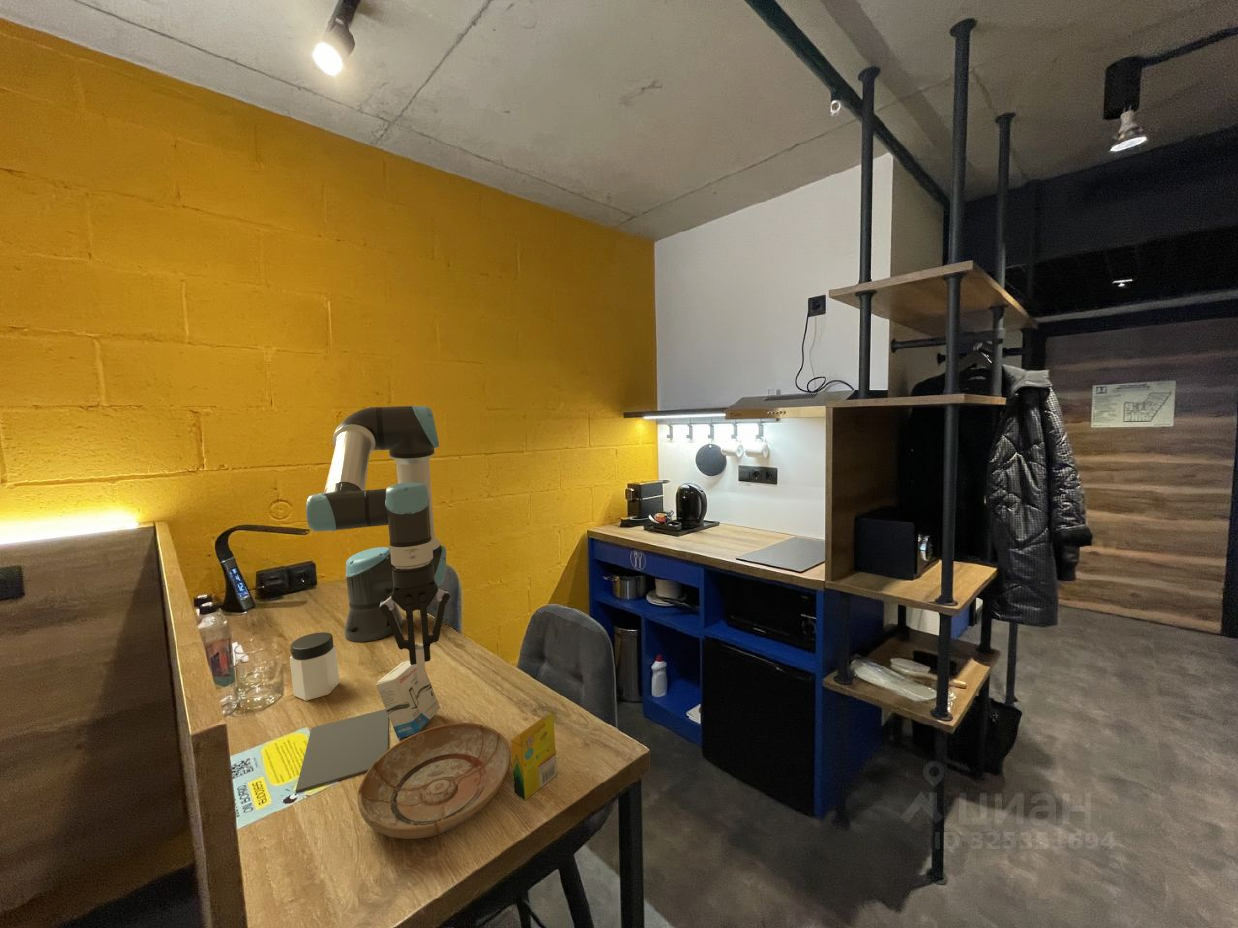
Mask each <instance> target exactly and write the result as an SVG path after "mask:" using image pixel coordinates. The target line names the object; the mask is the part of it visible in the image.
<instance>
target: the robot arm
mask: <svg viewBox="0 0 1238 928" xmlns="http://www.w3.org/2000/svg"><path fill="white" fill-rule="evenodd" d="M436 427H437V426H436V422H435V418H434V413H433V410H432V409H431V408H430V407H428V406H426V405H425V406H424V405H400V406H399V405H397V406H396V405H395V406H393V405H392V406H370V407H364V408H362V409H359V410H357V411H355V412H353V413H351V414H349V415H348V416H347V417H345V418H344V419H343V420H342V421H341V422H340V423H339V424H338V426H337V427H335V430H334V433H333V436H332V440H331V441H332V446H333V448H334V451H333V455H332V459H331V463H330V466H329V471H328V475H327V478H326V483H325V487H324V491H323V492H320V493H316V494H312V495H309V496H308V498H307V499H306V503H305V504H306V505H305V515H306V522H307V526H308V527H309V529H310V530H311V531H313V532H329V531H330V532H335V531H343V530H351V529H360V528H368V527H369V528H372V527H380V526H387V527H388V535H389V547H386V546H379V547H378V546H377V547H372V548H368V549H364V550H362V551H359V552H357V553H354V554H353V555H350V557H349V558H347V560H346V562H345V578H346V585H347V596H348V597H347V598H348V606H349V608H348V613H347V617H346V621H345V625H344V637H345V639H347V641H351V642H371V641H375V640H380V639H384V638H386V637H389V636H391V635H393V637H394V640H395V642H396V644H397V645H396V646H397V647H398V649H399V650H407V651H408V655H409V660H410V664H411V665H414V664H416V665H417V677H418V682H419V681H423V680H426V673H427V672H426V673H425V670H426V662H430V661H431V659H432V658H431V645H433V644H434V643H437V642H439V640H440V636H441V630H442V625H443V619H444V614H445V609H446V605H447V604H448V602H449V601H450V598H451V595H450V591H449V590H447V589H445V590H443V589H441V588H439V586H441V585H442V584H443V583H444V581H445V579H446V572H447V571H446V569H447V568H446V567H447V548H446V547H447V546H445V545H442V544H441V540H440V539H439V538H437V537H436V536H435V524H434V521H435V520H434V509H433V499H432V498H433V495H432V479H431V478H432V477H431V467H430V465H431V464H430V463H431V462H430V461H431V460H430V459H432V457H433V456H434V455H435V449H438V448H439V447H440V441H439V438H438V437H439V436H438V432H437V428H436ZM374 451H388V452H389V453H388V455H389V458H391V459H392V460H394V461H395V466H396V474H397V483H395V484H392V485H390V486H388V487H386V488H379V489H366V486H367V479H368V469H369V464H370V462H369V461H370V456H371V455H370V454H372V453H373V452H374ZM435 597H436V600H437V603H436V609H435V615H434V619H433V625H432V631H431V634H430V632H429V631H430V630H429V619H428V618H429V617H428V616H429V615H428V607H429V606H430V605H431V603H432V601H433V600H434V598H435ZM399 607H400V609H402V611H405V617H406V618H405V619H406V628H407V629H406V631H407V639H405V636H404V635H403V632H402V629H401V628H403V625H404V623H403V622H404V621H403V616H402V613H401V611H400V609H399ZM414 611H419V612H420V613H419V615H420V627H421V638H422V639H421V640H422V642H420V643H416V638H415V637H416V636H415V635H416V634H415V624H414Z"/></svg>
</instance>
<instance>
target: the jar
mask: <svg viewBox="0 0 1238 928" xmlns="http://www.w3.org/2000/svg"><path fill="white" fill-rule="evenodd" d="M333 636H334V635H332V633H330V632H326V631H325V632H323V631H321V632H320V631H319V632H314V633H309V634H306V635H303V636H301V637H299V638H297V639H295V640H293V641H292V642H291V644H290V654H291V656H289V664H290V665H289V666H290V672H291V681H292V690H293V696H294V697H296V698H299V699H301V700H302V701H305V702H307V701H311V700H314V699H317V698H321V697H324V696H327V695H329V694H331V693H332V691H333V690H334V689H335V688H336V687H337V686H338V685H339V684H340V677H339V676H340V675H339V665H338V664H339V663H338V655H337V647H336V645H335V644H334V638H333Z"/></svg>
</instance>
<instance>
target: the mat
mask: <svg viewBox="0 0 1238 928" xmlns="http://www.w3.org/2000/svg"><path fill="white" fill-rule="evenodd" d="M388 750H389V716H388V714H387V711H386V709H385V708H383V709H380V710H376V711H371V712H369V713H364V714H360V715H357V716H352V717H349V718H343V719H341V720H337V721H333V722H328V723H324V724H320V725H316V726H313V727H311V729H310V732H309V737H308V741H307V744H306V748H305V752H304V756H303V761H302V765H301V766H300V767H301V768H300V771H299V772H300V773H299V776H298V779H297V784H296V788H295V794H296V793H300V792H302V791H303V792H304V791H307V790H310V789H313V788H317V787H320V786H323V785H327V784H330V783H333V782H338V781H341V780H344V779H347V778H351V777H354V776H357V775H361V774H363V773H365V774H366V773H367V772H368V770H369V769H370V767H371V766H372V765H373V764H374V763H375V762H376V761H377V760H378V759H379V758H380V757H381V756H382V755H383V754H384V753H385V752H386V751H388Z"/></svg>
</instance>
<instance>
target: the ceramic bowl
mask: <svg viewBox="0 0 1238 928" xmlns="http://www.w3.org/2000/svg"><path fill="white" fill-rule="evenodd" d="M510 747H511V746H510V744H509V742H508V740H507V739H506V737H504V735H502V734H501V733H500V732H499V731H498V730H496V729H494V728H492V727H489V726H486V725H484V724H480V723H471V722H457V723H456V722H455V723H448V724H442V725H438V726H433V727H430V728H428V729H425V730H421V731H419V732H418V733H416V734H413V735H410V736H407V738H406V737H405V738H404V739H402V740H401V741H399V742H398V743H397V744H394V745H393V746H392V747H390V748H388V751H386V752H385V753H384V754H383V755H382V756H381V757H380V758H379V759H378V760H377V761H376V762H375V763H374V764H373V765H372V766H371V767H370V769H369V770H368V772H365V774H364V776H363V778H362V781H361V782H360V785H359V787H358V792H357V804H358V805H357V807H358V810H359V813H360V815H361V817H362V819H363V820H364V822H365V823H366V824H367V825H368V826H369V827H371V828H372V829H373V830H375V831H376V832H378V833H380V834H382V835H385V836H387V837H391V838H395V839H403V840H404V839H406V840H407V839H408V840H413V839H423V838H429V837H434V836H437V835H440V834H443V833H445V832H449V831H450V830H453V829H455V828H457V827H459V826H461V825H463V824H465V823H467V822H468V821H470V820H471V819H473V818H474V817H476V816H478V815H479V813H481V812H483V811H484V810H485V808H487V807H488V806H489V805H490V804H491V803H492V802H493V801H494V800H495V798H496V797H497V796H498V794H499V793H500V791H501V790H502V789H503V787H504V785H505V784H506V781H507V779H508V776H509V774H510V773H509V772H510V768H511V761H512V760H511V759H512V754H511V748H510Z"/></svg>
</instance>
